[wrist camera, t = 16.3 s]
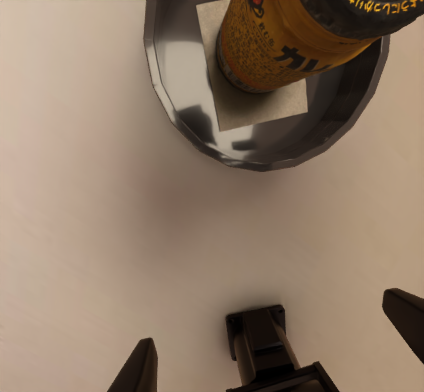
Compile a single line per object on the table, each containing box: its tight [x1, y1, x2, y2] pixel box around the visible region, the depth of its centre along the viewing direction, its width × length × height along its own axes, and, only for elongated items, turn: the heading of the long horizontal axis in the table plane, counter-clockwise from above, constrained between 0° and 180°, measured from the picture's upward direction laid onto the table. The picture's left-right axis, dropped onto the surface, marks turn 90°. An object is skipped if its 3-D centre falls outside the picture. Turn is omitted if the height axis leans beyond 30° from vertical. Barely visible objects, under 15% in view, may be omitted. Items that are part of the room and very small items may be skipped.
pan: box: [143, 0, 390, 172], centre depth 16 cm, size 15×15×4 cm
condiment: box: [196, 0, 424, 132], centre depth 12 cm, size 7×8×12 cm
